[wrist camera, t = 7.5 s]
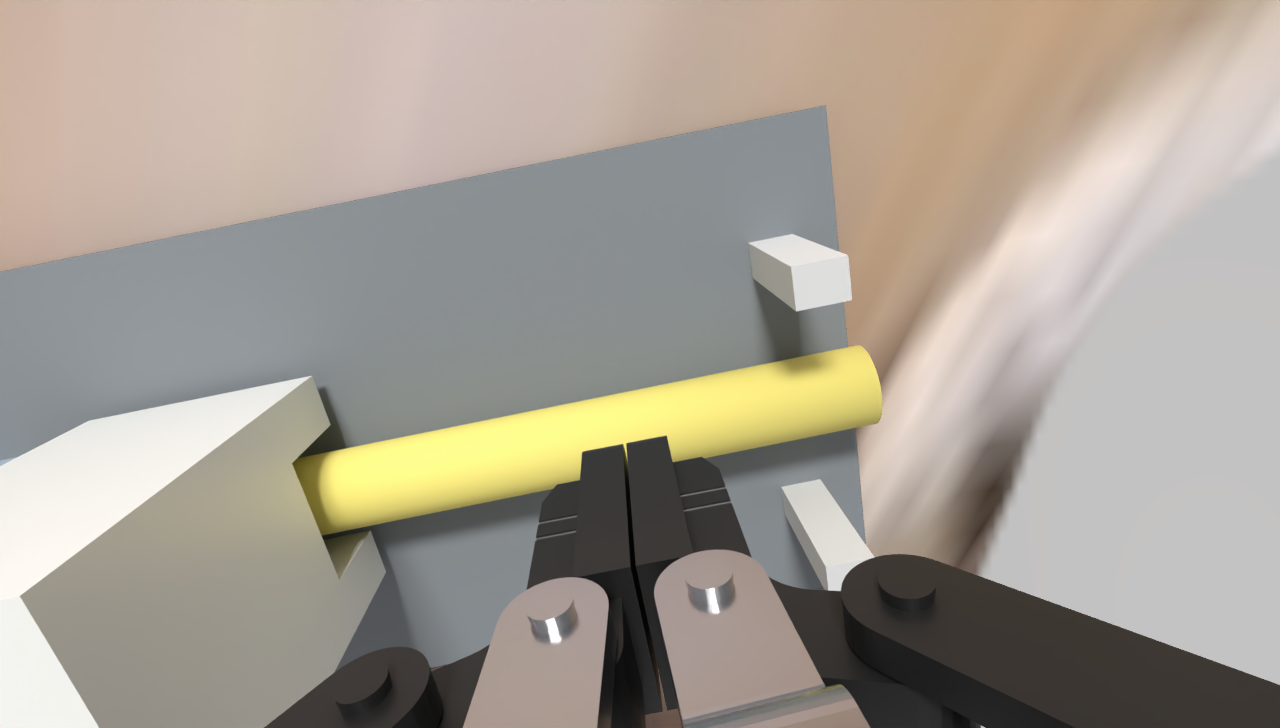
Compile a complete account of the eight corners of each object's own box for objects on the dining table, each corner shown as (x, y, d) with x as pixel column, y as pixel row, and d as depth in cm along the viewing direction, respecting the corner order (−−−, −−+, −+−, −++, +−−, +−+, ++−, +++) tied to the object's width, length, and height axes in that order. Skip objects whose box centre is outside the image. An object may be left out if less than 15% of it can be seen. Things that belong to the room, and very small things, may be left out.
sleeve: (312, 375, 14) (18, 595, 7) (386, 571, 16) (210, 911, 9) (88, 420, 14) (-433, 687, 7) (186, 612, 16) (-155, 986, 9)
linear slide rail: (808, 109, 14) (917, 83, 9) (851, 553, 18) (946, 700, 13) (-143, 301, 14) (-531, 375, 9) (97, 705, 18) (-90, 909, 13)
